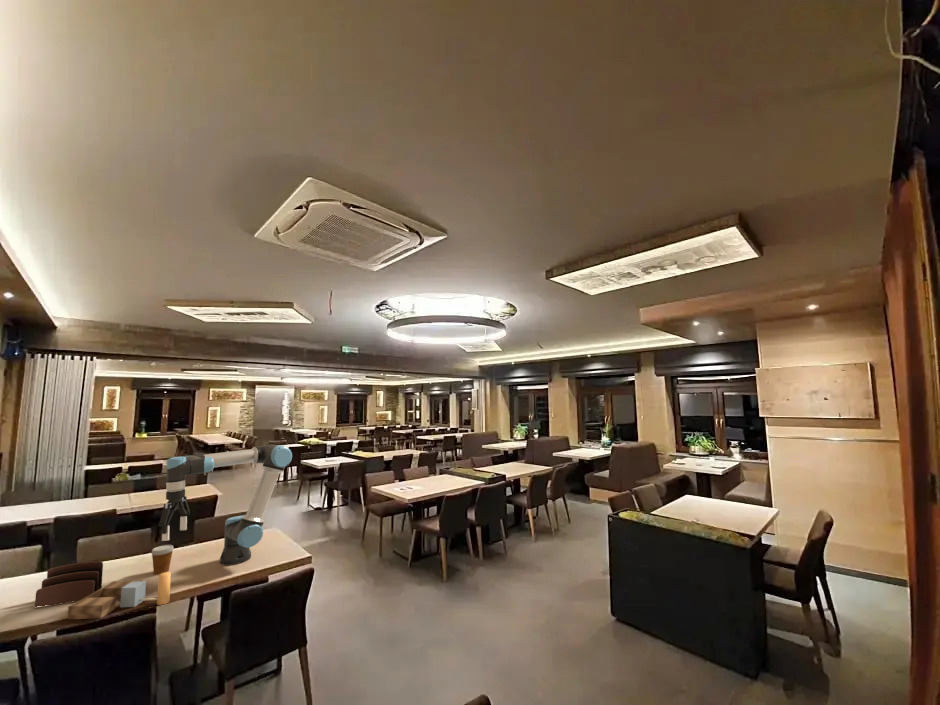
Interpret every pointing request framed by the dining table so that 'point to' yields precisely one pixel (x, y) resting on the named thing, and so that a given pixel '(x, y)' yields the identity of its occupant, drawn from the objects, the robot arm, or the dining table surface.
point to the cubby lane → (98, 602)
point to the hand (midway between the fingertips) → (174, 535)
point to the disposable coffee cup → (162, 558)
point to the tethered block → (136, 592)
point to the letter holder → (70, 583)
